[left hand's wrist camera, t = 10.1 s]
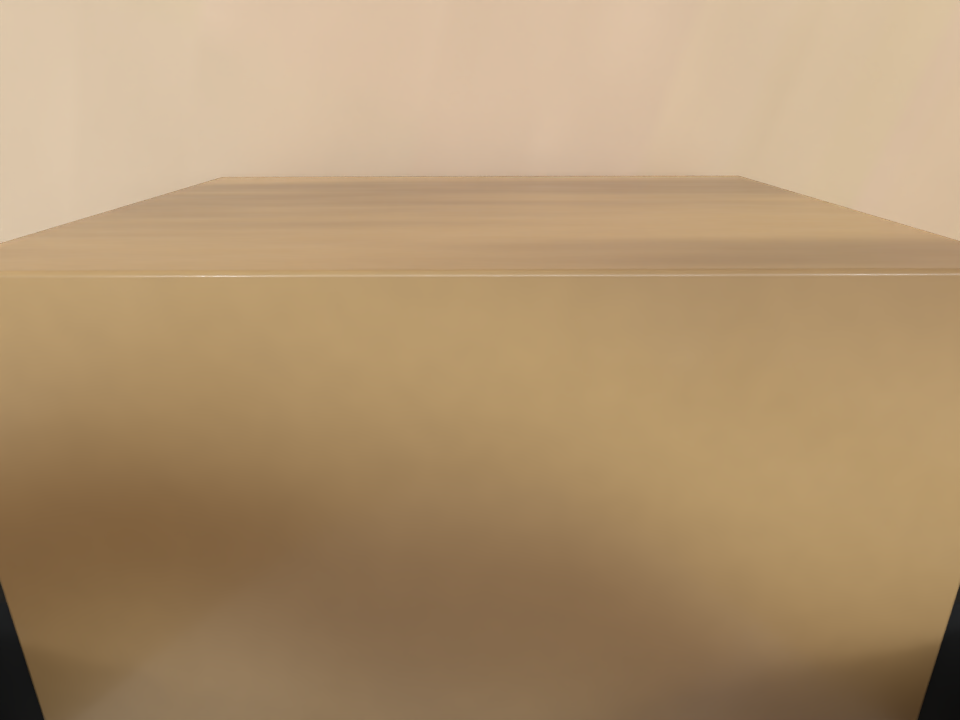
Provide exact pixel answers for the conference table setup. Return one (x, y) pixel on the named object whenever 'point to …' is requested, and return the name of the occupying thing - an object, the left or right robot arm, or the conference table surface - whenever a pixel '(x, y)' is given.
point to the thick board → (480, 452)
